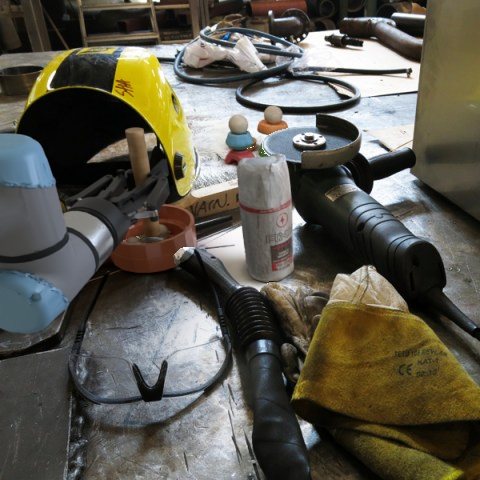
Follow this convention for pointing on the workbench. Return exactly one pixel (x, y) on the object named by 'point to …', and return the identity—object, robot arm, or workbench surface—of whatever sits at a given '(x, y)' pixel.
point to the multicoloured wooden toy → (242, 138)
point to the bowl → (157, 243)
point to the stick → (141, 171)
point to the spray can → (266, 216)
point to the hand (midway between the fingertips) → (155, 166)
